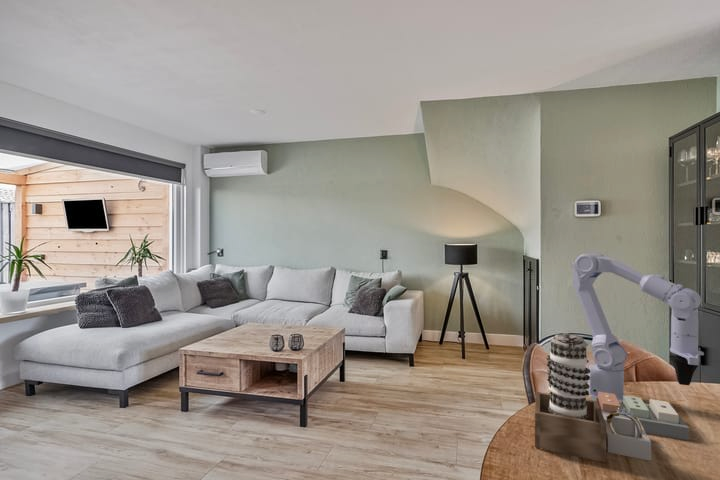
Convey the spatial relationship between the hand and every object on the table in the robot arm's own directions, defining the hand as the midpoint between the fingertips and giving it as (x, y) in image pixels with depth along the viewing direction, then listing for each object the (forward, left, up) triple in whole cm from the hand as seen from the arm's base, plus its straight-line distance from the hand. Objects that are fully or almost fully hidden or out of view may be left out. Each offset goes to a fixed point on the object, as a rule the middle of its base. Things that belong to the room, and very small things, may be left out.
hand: (683, 384), depth 107 cm
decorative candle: (-29, -27, -9) cm, 41 cm away
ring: (-17, -23, -9) cm, 30 cm away
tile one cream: (-6, -8, -7) cm, 13 cm away
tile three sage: (-12, -8, -7) cm, 17 cm away
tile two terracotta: (-18, -8, -7) cm, 21 cm away
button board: (-12, -8, -9) cm, 17 cm away
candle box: (-29, -27, -9) cm, 41 cm away
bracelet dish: (-17, -23, -9) cm, 30 cm away
